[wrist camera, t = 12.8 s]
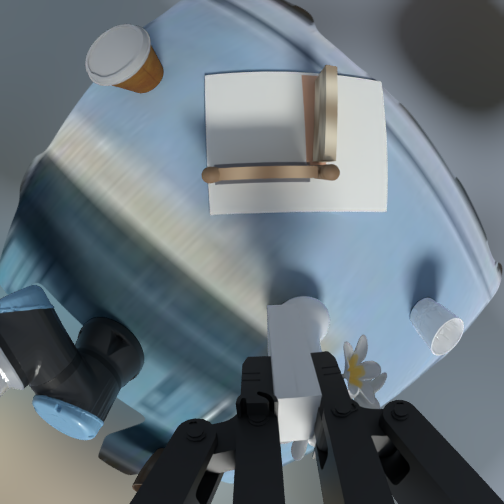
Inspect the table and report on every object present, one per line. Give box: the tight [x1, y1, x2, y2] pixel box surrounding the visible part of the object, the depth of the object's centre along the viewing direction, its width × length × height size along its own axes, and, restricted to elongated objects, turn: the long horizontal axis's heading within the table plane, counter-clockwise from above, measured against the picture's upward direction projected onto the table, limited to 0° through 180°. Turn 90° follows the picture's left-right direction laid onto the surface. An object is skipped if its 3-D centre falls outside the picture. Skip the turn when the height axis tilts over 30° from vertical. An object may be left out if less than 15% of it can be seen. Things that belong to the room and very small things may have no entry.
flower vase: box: [280, 296, 387, 460], centre depth 34 cm, size 13×18×25 cm
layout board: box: [205, 72, 387, 215], centre depth 37 cm, size 28×22×1 cm
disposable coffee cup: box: [85, 24, 163, 93], centre depth 29 cm, size 10×10×12 cm
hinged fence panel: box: [313, 65, 338, 163], centre depth 32 cm, size 13×2×7 cm, turn 178°
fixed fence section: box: [202, 164, 340, 183], centre depth 34 cm, size 16×2×8 cm, turn 92°
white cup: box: [410, 298, 464, 355], centre depth 41 cm, size 8×8×10 cm
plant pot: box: [132, 448, 165, 492], centre depth 53 cm, size 15×15×16 cm
